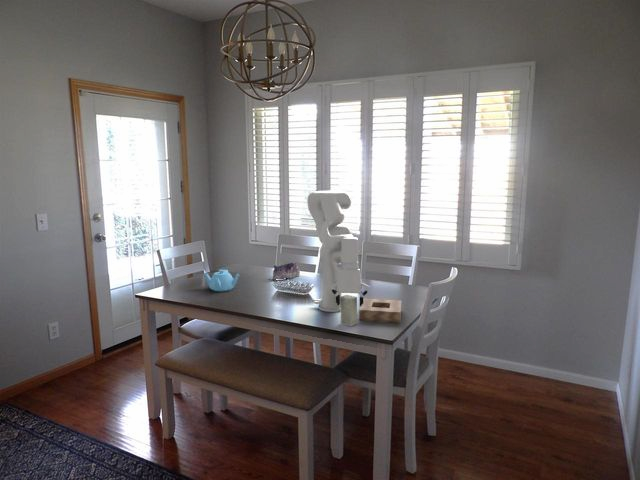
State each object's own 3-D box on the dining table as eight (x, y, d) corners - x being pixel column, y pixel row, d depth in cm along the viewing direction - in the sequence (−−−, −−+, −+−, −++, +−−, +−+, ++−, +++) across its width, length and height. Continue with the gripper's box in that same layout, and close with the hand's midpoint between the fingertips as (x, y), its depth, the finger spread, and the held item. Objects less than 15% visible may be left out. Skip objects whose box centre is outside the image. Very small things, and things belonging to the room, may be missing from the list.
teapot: (241, 289, 254) (240, 270, 253) (216, 294, 245) (215, 274, 243) (227, 284, 266) (227, 265, 264) (203, 288, 256) (203, 269, 255)
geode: (283, 282, 270) (281, 266, 269) (268, 282, 277) (266, 266, 276) (303, 274, 287) (301, 259, 285) (289, 274, 293) (287, 259, 292)
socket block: (359, 320, 203) (359, 309, 202) (363, 308, 220) (363, 298, 220) (400, 323, 199) (400, 312, 199) (401, 310, 217) (401, 300, 216)
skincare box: (357, 324, 198) (357, 297, 196) (351, 326, 195) (351, 299, 193) (346, 320, 202) (346, 294, 201) (339, 323, 199) (340, 296, 197)
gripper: (328, 266, 192) (328, 306, 195) (369, 268, 189) (369, 308, 191) (331, 263, 200) (331, 302, 202) (370, 264, 196) (370, 303, 199)
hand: (349, 305), depth 197 cm, fingers open, 9 cm apart
